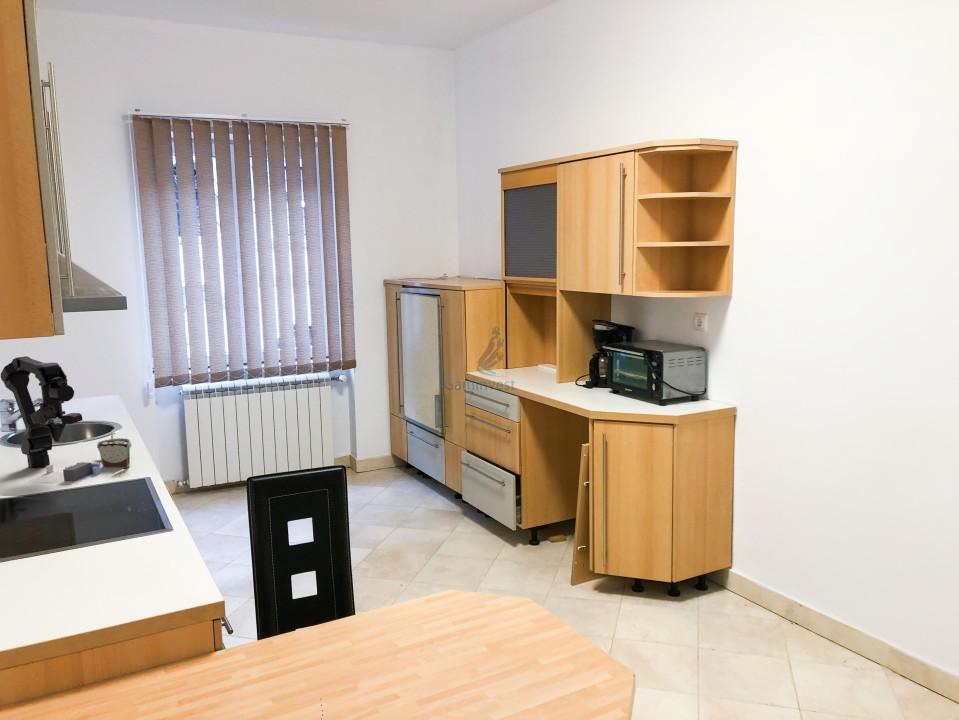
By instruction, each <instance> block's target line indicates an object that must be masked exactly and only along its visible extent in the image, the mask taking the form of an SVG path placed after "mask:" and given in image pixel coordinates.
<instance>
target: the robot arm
mask: <svg viewBox="0 0 959 720" xmlns="http://www.w3.org/2000/svg"><path fill="white" fill-rule="evenodd" d="M31 374H33V375H34V377H35V378H36V379H37V380H38V381H39V383H38V386H39V387H40V390H41V397H42V398H41V399H42V402H40V403H39V409H36V408H35V405H34V403H33V400H32V398H31V397H32V396H31V394H30V391H29V388H28V386H29V383H30V375H31ZM67 378H68V376H67V375H66V373H65V372H64V370H63V368H62V367H61V365H60V364H59V363H58V362H42V361H39V360H37V359H33V358H31V357H30V356H25V355H24V356H18V357H15V358H13V359H12V361H11V362H10V363H8V364H6V365H5V366H4V367H3V369H2V370H1V372H0V380H1V381H2V382H3V384H4V386H5V387H6V389H8V390H9V391H10V392H12V393H13V397H14V399H15V402H16V405H17V407H18V411H19V413H20V416H21V418H22V421H23V424H24V427H25V431H24V434H23V440H24V441H23V443H22V445H21V447H20V449H21V450H20V451H21V453H22V454H23V455H25V456H26V457H27V465H28V468H30V469H41V468H46V466H48V465H51V463H50V455H49V453H48V451H53V449H52V448H53V441H54V443H57V442H60V439H61V436H62V434H63V431H64V430H65V428H66V425H73V424H76V423H79V422H82V421H83V415H82V413H80V412H70V413H67V414H66V411H65V410H63V404H64V403H65V402H69V401H71V400H72V399H73V397H74V396H75V390H74V389H73V387H72V386H71V385H68V379H67Z"/></svg>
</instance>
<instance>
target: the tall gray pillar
mask: <svg viewBox="0 0 959 720" xmlns="http://www.w3.org/2000/svg"><path fill="white" fill-rule="evenodd" d="M77 463H78V464H77ZM77 463H76V464H73V465H70V466H71V467H69V468H66V469H65V468H64V469H63V470H62V472H63V474H64V481H77V480H79V479H81V478H83V477H86V476H88V475H90V474H92V466H91V463H92V462H87V461H86V462H85V461H84V462H83V461H82V462H77Z"/></svg>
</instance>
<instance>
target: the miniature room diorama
mask: <svg viewBox="0 0 959 720" xmlns="http://www.w3.org/2000/svg"><path fill="white" fill-rule="evenodd" d="M78 463H79V462H76V464H78ZM90 463H91V466H92V474H90V475H88V476H86V477H83V478H81V479H79V480H77V481H64V474H63V471H54V465H53V464H50V465H48V466H46V467H45V469H46V471H45V472H46V473H44V474H42V475H41V474H40V476H35V477H33V478H31V479H30V480H27V481H26V483H40V484H65V485H66V484H67V485H77V484H79V483H82V482H84V481H86V480H88V479H90V478H93V477H95V476H97V475H100V474H101V473H102V470H101V463H99V462H97V463H96V462H90ZM71 466H72V465H67V466H65V467H64V469H66V468H69V467H71Z"/></svg>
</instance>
